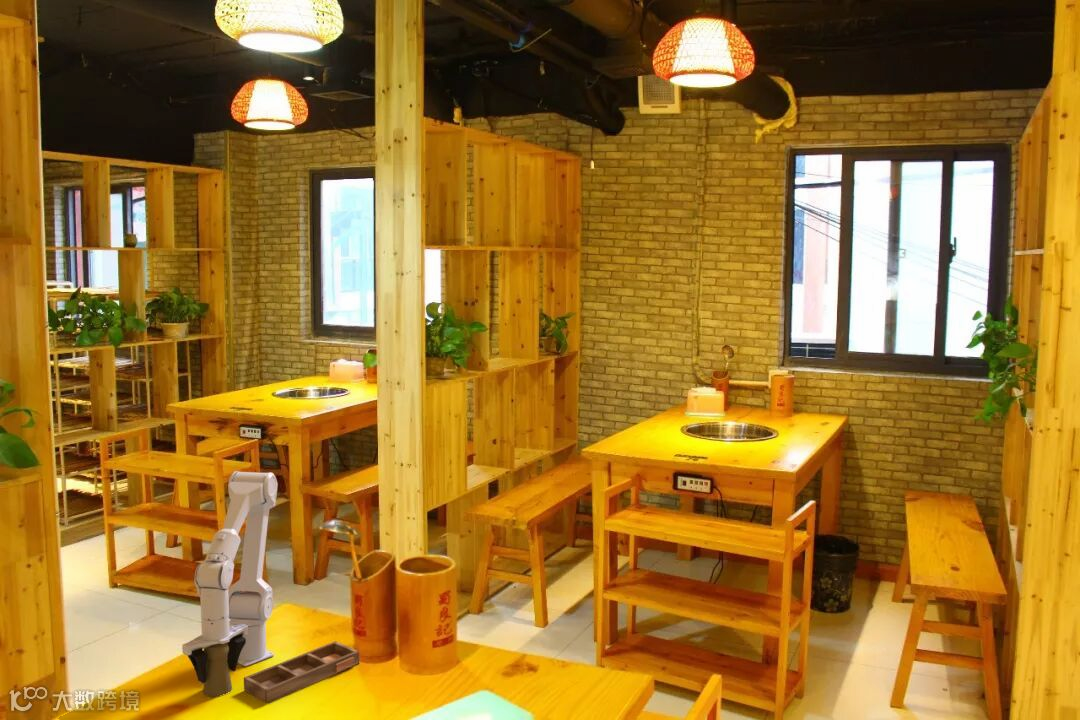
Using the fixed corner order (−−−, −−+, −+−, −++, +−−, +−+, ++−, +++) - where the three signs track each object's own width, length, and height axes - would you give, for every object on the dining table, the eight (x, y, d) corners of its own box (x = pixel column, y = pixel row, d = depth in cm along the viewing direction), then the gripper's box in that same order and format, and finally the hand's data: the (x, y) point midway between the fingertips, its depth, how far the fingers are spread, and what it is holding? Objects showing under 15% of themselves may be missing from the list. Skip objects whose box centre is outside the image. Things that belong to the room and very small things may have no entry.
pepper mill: (222, 698, 194) (221, 649, 193) (197, 695, 196) (195, 646, 194) (237, 685, 200) (236, 637, 199) (212, 682, 202) (211, 635, 200)
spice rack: (244, 690, 198) (243, 677, 198) (335, 653, 217) (335, 641, 217) (269, 704, 192) (268, 691, 192) (361, 664, 211) (360, 652, 211)
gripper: (193, 631, 188) (196, 693, 190) (255, 610, 199) (256, 669, 201) (176, 622, 192) (178, 682, 194) (237, 602, 204) (238, 660, 205)
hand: (217, 675), depth 198 cm, fingers open, 7 cm apart
